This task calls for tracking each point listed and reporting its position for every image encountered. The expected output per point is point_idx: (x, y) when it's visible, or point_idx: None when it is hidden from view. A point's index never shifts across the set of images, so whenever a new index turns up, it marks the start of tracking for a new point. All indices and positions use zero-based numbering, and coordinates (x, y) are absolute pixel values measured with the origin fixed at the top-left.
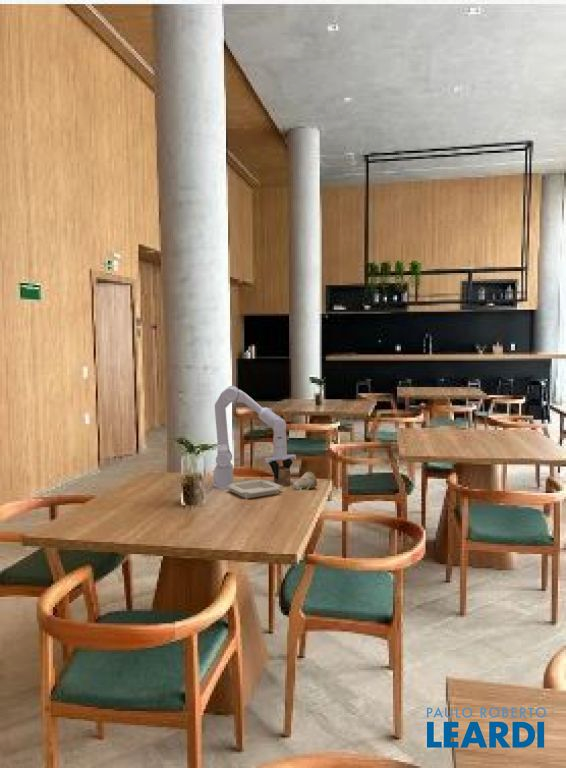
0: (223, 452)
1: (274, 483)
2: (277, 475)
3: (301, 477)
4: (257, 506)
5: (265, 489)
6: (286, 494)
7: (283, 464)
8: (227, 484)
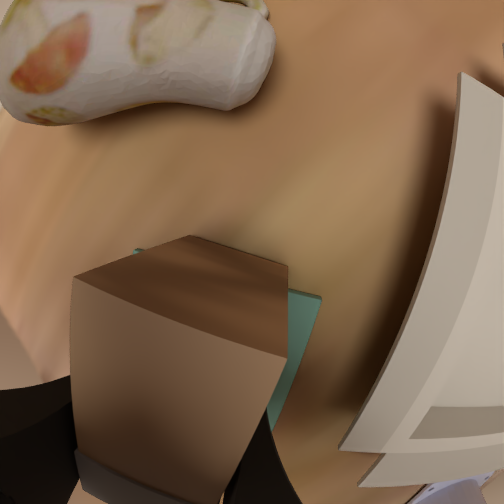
0: None
1: (445, 259)
2: None
3: (126, 25)
4: None
5: None
6: (426, 50)
7: (67, 492)
8: (472, 488)
